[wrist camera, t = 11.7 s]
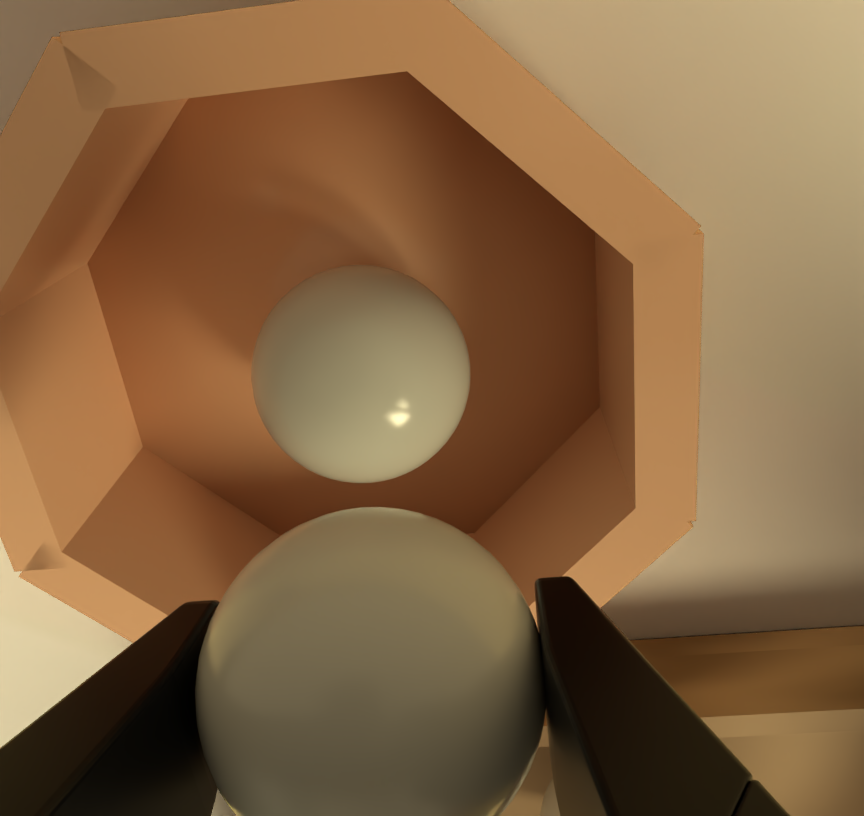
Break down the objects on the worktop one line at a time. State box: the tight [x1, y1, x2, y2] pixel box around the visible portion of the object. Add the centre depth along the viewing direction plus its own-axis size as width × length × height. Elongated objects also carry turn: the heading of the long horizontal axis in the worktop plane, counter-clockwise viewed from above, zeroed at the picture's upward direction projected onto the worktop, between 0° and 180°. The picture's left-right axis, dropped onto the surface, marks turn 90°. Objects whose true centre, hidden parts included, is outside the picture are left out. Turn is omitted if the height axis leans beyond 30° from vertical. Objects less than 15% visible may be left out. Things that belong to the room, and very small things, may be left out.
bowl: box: [0, 0, 704, 643], centre depth 14 cm, size 11×11×4 cm
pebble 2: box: [195, 507, 546, 816], centre depth 8 cm, size 4×4×4 cm
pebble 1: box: [251, 265, 471, 483], centre depth 13 cm, size 4×4×4 cm
